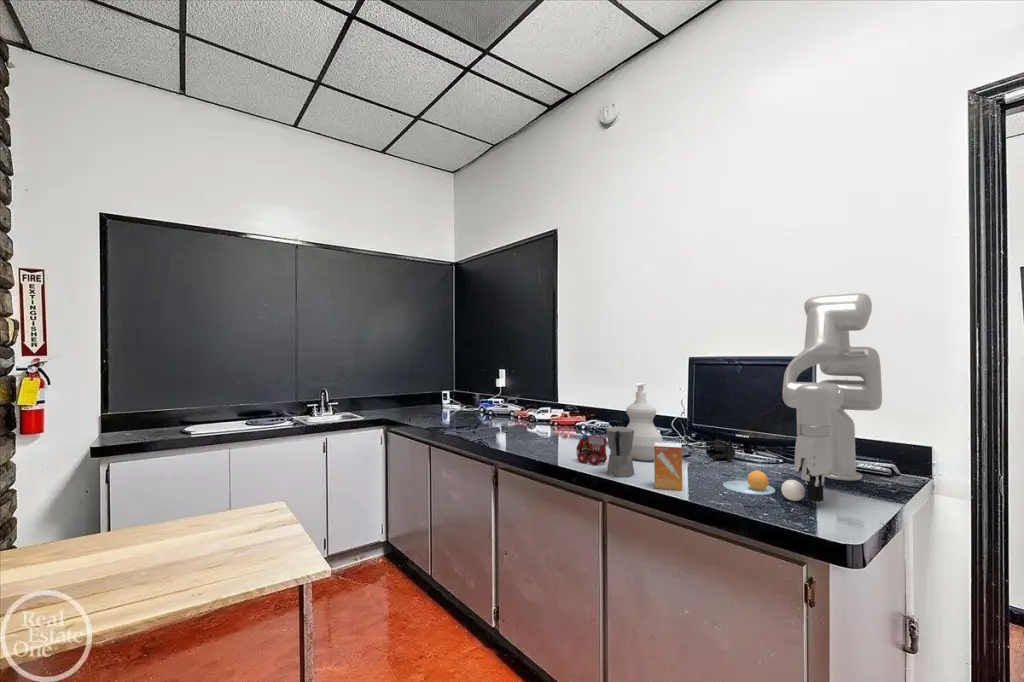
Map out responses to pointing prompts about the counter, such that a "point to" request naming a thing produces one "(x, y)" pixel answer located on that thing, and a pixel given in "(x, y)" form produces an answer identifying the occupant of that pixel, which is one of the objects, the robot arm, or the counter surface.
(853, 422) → the robot arm
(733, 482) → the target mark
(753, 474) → the object ball
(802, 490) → the white egg
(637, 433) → the soap bottle
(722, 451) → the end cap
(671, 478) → the small box
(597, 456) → the toy fire truck
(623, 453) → the coffeepot
